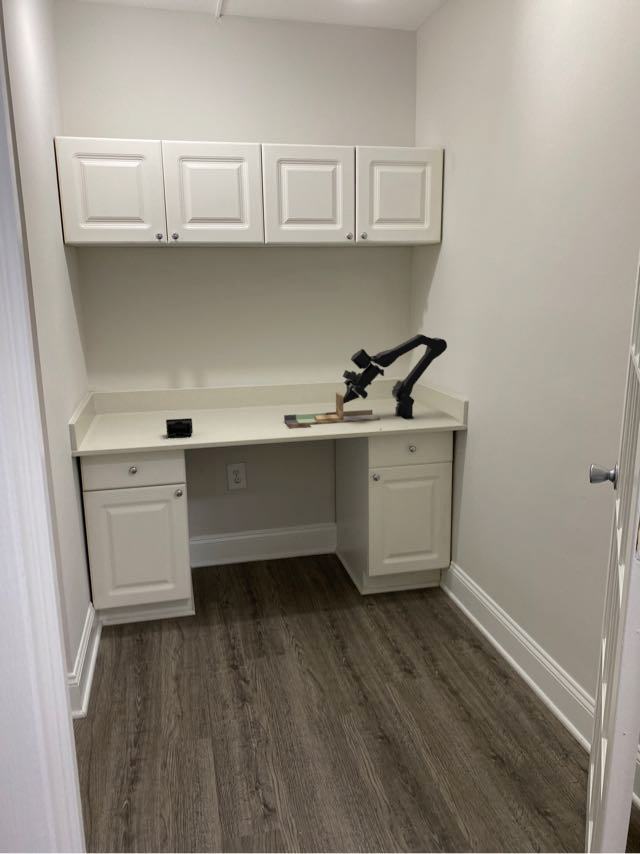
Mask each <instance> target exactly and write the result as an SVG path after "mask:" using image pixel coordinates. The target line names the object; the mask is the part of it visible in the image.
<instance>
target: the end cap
mask: <svg viewBox="0 0 640 854" xmlns="http://www.w3.org/2000/svg"><path fill="white" fill-rule="evenodd" d="M165 424H166V425H165V426H166V435H167V439H168V438H171V439H185V438H186V439H187V437H188V438H192V435H193V431H194V430H193V419H192V418H188V417H187V418H171V419H165Z"/></svg>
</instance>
